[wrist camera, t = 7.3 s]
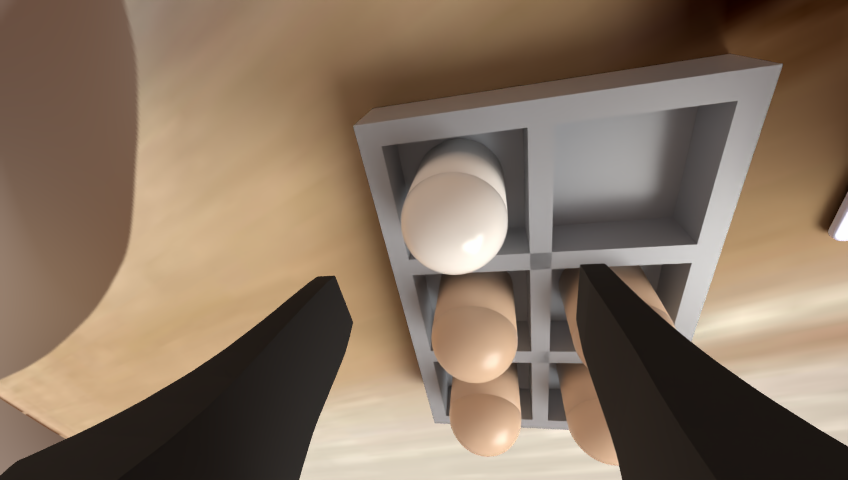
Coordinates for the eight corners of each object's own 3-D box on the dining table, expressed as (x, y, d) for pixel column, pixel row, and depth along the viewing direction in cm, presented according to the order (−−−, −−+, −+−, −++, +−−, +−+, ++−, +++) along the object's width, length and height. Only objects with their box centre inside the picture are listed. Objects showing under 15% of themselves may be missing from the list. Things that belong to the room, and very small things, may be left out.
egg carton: (730, 53, 14) (894, 85, 8) (643, 392, 25) (688, 502, 20) (372, 108, 17) (316, 158, 12) (439, 387, 29) (427, 479, 23)
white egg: (501, 133, 16) (508, 192, 11) (505, 215, 19) (513, 296, 14) (409, 144, 17) (377, 203, 12) (424, 221, 20) (402, 298, 14)
